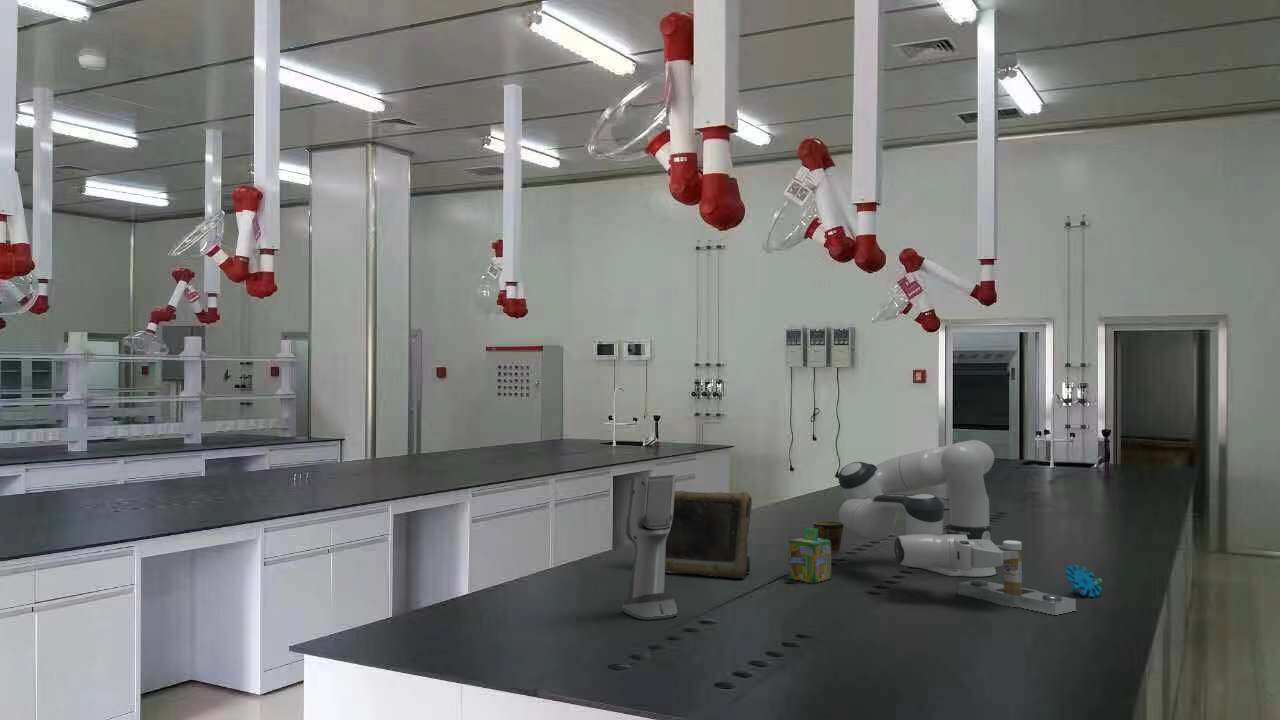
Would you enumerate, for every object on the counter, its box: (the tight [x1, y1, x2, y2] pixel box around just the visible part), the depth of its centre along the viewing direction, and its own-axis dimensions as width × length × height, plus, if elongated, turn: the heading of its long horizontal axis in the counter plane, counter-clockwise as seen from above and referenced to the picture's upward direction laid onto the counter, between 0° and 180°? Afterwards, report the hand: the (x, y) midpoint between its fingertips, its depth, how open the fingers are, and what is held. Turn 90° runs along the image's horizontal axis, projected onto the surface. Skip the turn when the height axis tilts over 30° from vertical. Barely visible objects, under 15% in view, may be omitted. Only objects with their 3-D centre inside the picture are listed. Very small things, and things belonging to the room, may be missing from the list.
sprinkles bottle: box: [1002, 540, 1023, 595], centre depth 251 cm, size 5×5×13 cm
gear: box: [1064, 563, 1103, 598], centre depth 260 cm, size 11×6×10 cm
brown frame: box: [665, 490, 753, 579], centre depth 295 cm, size 33×14×25 cm, turn 68°
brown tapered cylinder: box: [812, 519, 844, 554], centre depth 325 cm, size 13×10×10 cm
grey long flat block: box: [957, 579, 1077, 616], centre depth 251 cm, size 29×10×4 cm, turn 32°
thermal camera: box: [621, 474, 678, 617], centre depth 245 cm, size 12×13×35 cm
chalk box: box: [788, 527, 832, 584], centre depth 283 cm, size 9×9×15 cm
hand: (1016, 552), depth 251 cm, fingers closed on sprinkles bottle, 4 cm apart
